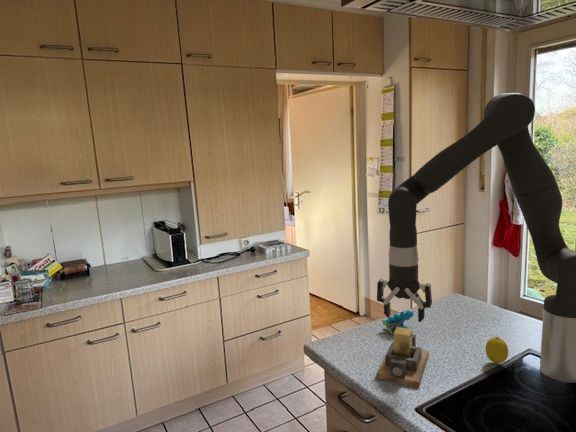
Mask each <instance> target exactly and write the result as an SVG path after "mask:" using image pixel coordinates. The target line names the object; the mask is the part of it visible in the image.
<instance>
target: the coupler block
mask: <svg viewBox="0 0 576 432" xmlns="http://www.w3.org/2000/svg"><path fill="white" fill-rule="evenodd" d="M412 335H413V328H406V327H405V328H401V326H397V327H396V328H395V330H394V331H393V343H394V355H396V356H402V357H407V358H412Z"/></svg>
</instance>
